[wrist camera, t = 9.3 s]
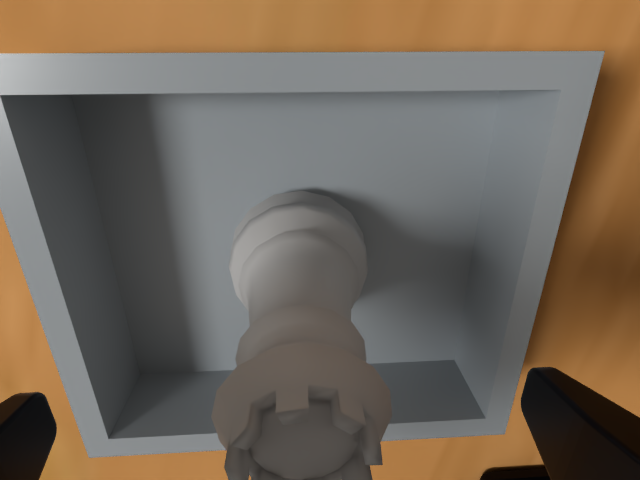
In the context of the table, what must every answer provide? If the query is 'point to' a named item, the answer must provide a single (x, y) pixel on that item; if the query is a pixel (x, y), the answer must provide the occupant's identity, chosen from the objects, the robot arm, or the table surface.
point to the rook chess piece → (300, 348)
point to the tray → (276, 178)
